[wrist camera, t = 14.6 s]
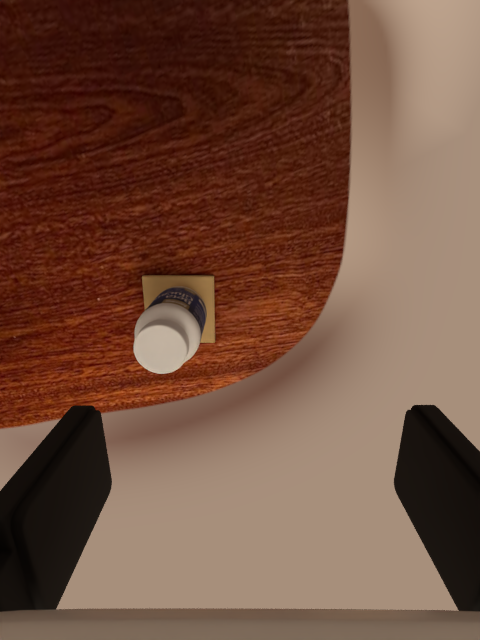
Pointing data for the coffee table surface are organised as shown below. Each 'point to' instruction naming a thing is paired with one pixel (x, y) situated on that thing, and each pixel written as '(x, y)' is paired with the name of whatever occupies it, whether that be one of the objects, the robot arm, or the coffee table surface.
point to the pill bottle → (170, 330)
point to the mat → (195, 282)
